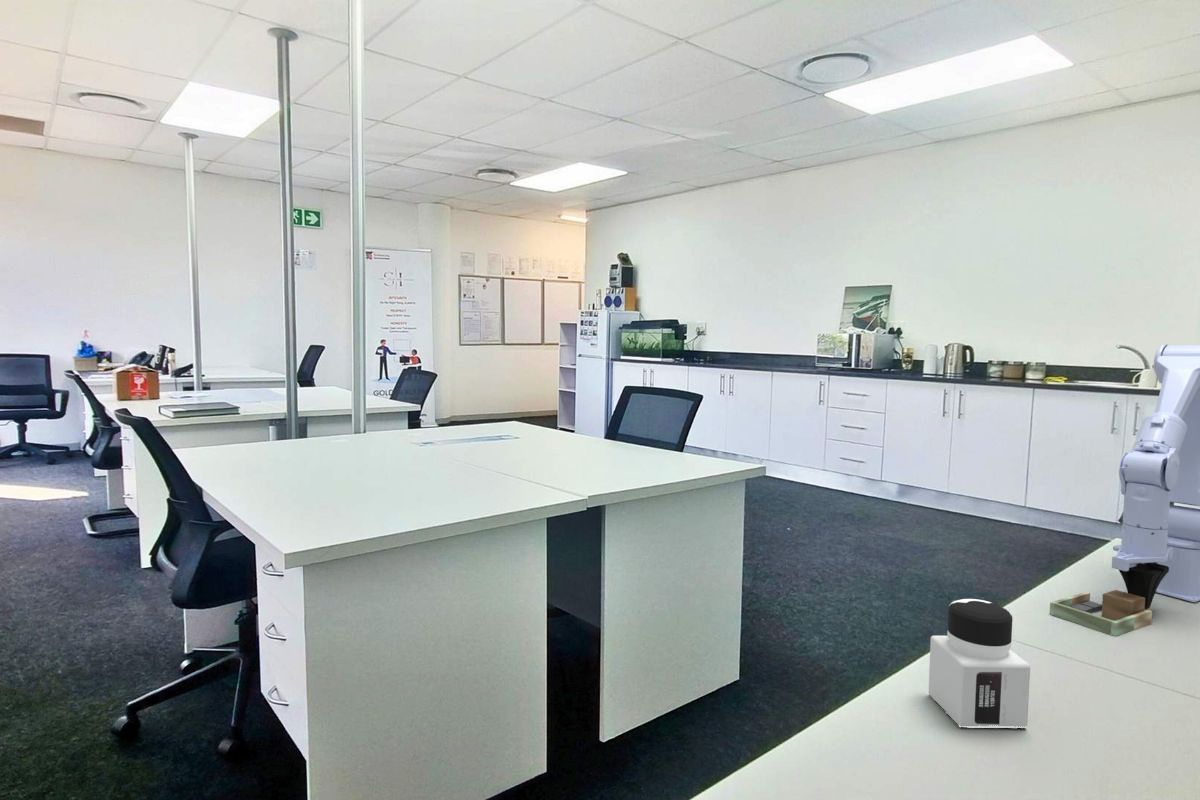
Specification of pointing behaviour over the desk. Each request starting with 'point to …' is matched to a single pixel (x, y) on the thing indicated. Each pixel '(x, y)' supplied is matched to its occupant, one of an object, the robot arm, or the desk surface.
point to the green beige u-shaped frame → (1096, 622)
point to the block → (1121, 605)
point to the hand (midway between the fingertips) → (1139, 606)
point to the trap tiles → (1088, 607)
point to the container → (979, 667)
